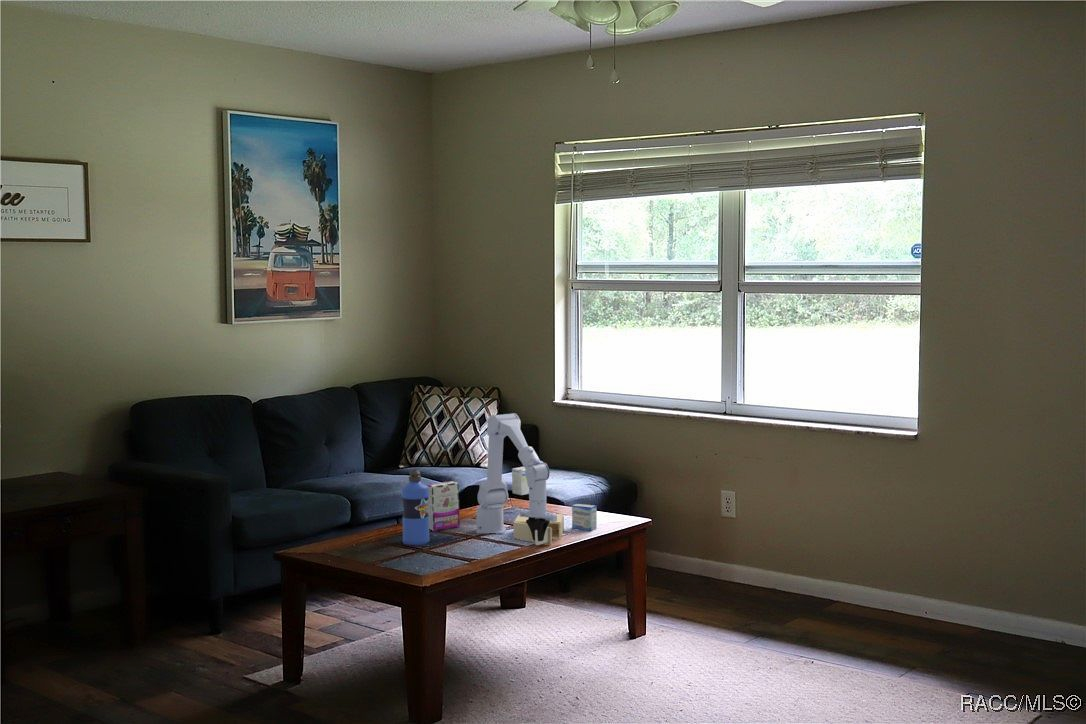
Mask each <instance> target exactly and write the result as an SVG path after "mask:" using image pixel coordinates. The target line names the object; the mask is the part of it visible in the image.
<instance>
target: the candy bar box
mask: <svg viewBox="0 0 1086 724" xmlns="http://www.w3.org/2000/svg"><path fill="white" fill-rule="evenodd" d="M426 485H427V486H429V496H428V507H427V508H428V514H429V529H430V530H429V531H431V530H432V532H438V530H440V531H445V530H448V529H449V530H450V528H451V529H455V528H456V529H457V528H460V526H461V525H460V519H461V518H460V494H459V493H460V491H459V482H456V481H453V480H451V481H443V482H437V483H430V484H426ZM444 529H445V530H444Z"/></svg>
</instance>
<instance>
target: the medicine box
mask: <svg viewBox="0 0 1086 724" xmlns="http://www.w3.org/2000/svg"><path fill="white" fill-rule="evenodd" d="M597 520H598V519H597V505H593V504H592V505H591V504H584V503H575V504H572V506H571V529H572V530H574V529H578V530H577V531H585V530H587V531H588V532H592V531H595V530H597V527H598V526H597V522H598V521H597ZM587 531H586V532H587Z"/></svg>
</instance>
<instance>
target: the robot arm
mask: <svg viewBox="0 0 1086 724" xmlns="http://www.w3.org/2000/svg"><path fill="white" fill-rule="evenodd" d="M521 423H522V421H521V419H520V417H519V415H518V414H517V413H514V412H512V413H503V414H492V415H490V416H489V417H488V418H487V425H486V426H487V429H486V430H487V431H486V434H487V436H488V445H487V446H488V447H487V470H486V479H484V481H483V482H482V483H480V484H479V489H478V492H477V502H478V504H479V506H477V507H476V515H475V516H476V534H489V533H496V534H499V535H500V534H504V532H505V530H507V528H506V527H504V507H506V504H507V503H508V500H509V493H508V485H507V483H506V482H504V481H503V480H502V479H503V478H502V477H503V458H504V457H503V456H504V454H503V453H504V439H505V438H506V437H507V436H508V438H509V439H510V440H511V442H512V443H513V445H514V446H515V447H516V449H517V451H518V454H517V457H518V459H519V461H520V462H521V464H522V467H524V468H525V469H526V472H525V476H526V479H527V485H528V487H529V494H528V499H529V500H528V502H529V503H528V509H527V510H525V509H522V510H519V514H520V517H529V519H528V520H526V523H527V524H528V526H529V528H530V530H531V533H532V537H533V540H534V541H535V530H537V535H538V541H543V540H544V535H545V532H546V529H547V527H548V525H549V523H550V521H551V522H555V521H557V515H553V514H552V513H550V512H547V481H548V480H549V478H550V476H551V475H550V472H551V471H550V468H549V466H548V464H547V463H546V462H544V461H542V460H540V458H539V456H538V454H537V452H536V451H535V449H534V448H533V446H529V445H528V443H527V441H526V439H525V436H524V434H523V432H522V430H521V425H522V424H521Z"/></svg>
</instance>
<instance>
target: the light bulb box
mask: <svg viewBox="0 0 1086 724" xmlns="http://www.w3.org/2000/svg"><path fill="white" fill-rule="evenodd" d="M525 472H526V469H525V468H524V466H520V467H515V468H514V467H513V468H511V480H512V481H511V482H512V484H511V485H512V488H511V489H512V491H511V492H512V494H514V495H519V496H524V495H529V487H528V485H527V479H526V476H525Z"/></svg>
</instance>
